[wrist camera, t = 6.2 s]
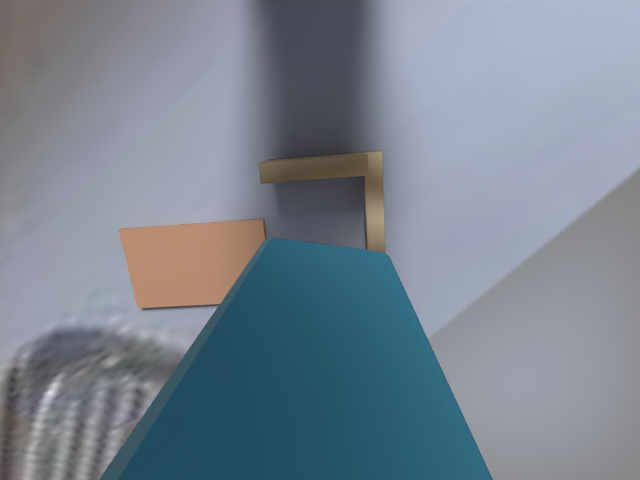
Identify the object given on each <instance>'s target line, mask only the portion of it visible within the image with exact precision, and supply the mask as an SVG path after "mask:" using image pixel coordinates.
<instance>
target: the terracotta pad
mask: <svg viewBox="0 0 640 480" xmlns="http://www.w3.org/2000/svg"><path fill="white" fill-rule="evenodd" d="M119 233H120V237H121V241H122V245H123V249H124V253H125V257H126V261H127V265H128V269H129V273H130V278H131V282H132V286H133V290H134V294H135V298H136V302H137V306H138V308H152V307H171V306H190V305H208V304H220V303H221V302H222V300H223V299H224V298H225V296H226V295H227V293H228V292H229V290H230V289H231V287H232V286H233V284H234V283H235V282H236V280H237V279H238V277H239V276H240V274H241V273H242V271H243V270H244V268H245V267H246V266H247V264H248V263H249V261H250V260H251V258H252V257H253V255H254V254H255V252H256V251H257V250H258V248H259V247H260V245H261V244H262V242H263V241H264V240H265V239H266V232H265V224H264V219H255V220H241V221H226V222H211V223H197V224H182V225H167V226H153V227H138V228H123V229H120V230H119Z"/></svg>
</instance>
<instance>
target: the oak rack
mask: <svg viewBox="0 0 640 480" xmlns="http://www.w3.org/2000/svg"><path fill="white" fill-rule="evenodd" d="M259 171H260V179H261V184H262V183H275V182H289V181H302V180H316V179H329V178H343V177H356V176H363V177H364V200H365V224H366V247H367V250H371V251H378V252H384V253H385V232H384V195H383V158H382V151H372V152H359V153H346V154H333V155H321V156H308V157H295V158H283V159H270V160H267V161H264V162H261V163H259Z"/></svg>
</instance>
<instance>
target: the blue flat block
mask: <svg viewBox="0 0 640 480" xmlns="http://www.w3.org/2000/svg"><path fill="white" fill-rule="evenodd" d="M99 480H493V479H492V477H491V475H490V472H489V470H488V468H487V466H486V464H485V462H484V459H483V457H482V455H481V453H480V451H479V449H478V447H477V444H476V442H475V440H474V438H473V436H472V434H471V431H470V429H469V427H468V425H467V423H466V421H465V419H464V416H463V414H462V412H461V410H460V408H459V406H458V403H457V401H456V399H455V397H454V395H453V393H452V391H451V388H450V386H449V384H448V382H447V380H446V378H445V375H444V373H443V371H442V369H441V367H440V365H439V363H438V361H437V358H436V356H435V354H434V352H433V350H432V347H431V345H430V343H429V341H428V339H427V337H426V335H425V332H424V330H423V328H422V326H421V324H420V322H419V319H418V317H417V315H416V313H415V311H414V309H413V307H412V304H411V302H410V300H409V298H408V296H407V294H406V291H405V289H404V287H403V285H402V283H401V281H400V278H399V276H398V274H397V272H396V270H395V268H394V266H393V263H392V261H391V259H390V257H389V256H388V255H387V254H386V253H384V252H378V251H371V250H363V249H355V248H348V247H340V246H333V245H325V244H317V243H310V242H302V241H295V240H287V239H280V238H272V237H270V238H267V239H265V240H264V241H263V242H262V244H261V245H260V247H259V248H258V250H257V251H256V252H255V254H254V255H253V257H252V258H251V260H250V261H249V263H248V264H247V266H246V267H245V268H244V270H243V271H242V273H241V274H240V276H239V277H238V279H237V280H236V282H235V283H234V284H233V286H232V287H231V289H230V290H229V292H228V293H227V295H226V296H225V298H224V299H223V300H222V302H221V303H220V305H219V306H218V308H217V309H216V311H215V312H214V314H213V315H212V316H211V318H210V319H209V321H208V322H207V324H206V325H205V327H204V328H203V329H202V331H201V332H200V334H199V335H198V337H197V338H196V340H195V341H194V343H193V344H192V345H191V347H190V348H189V350H188V351H187V353H186V354H185V356H184V357H183V359H182V360H181V361H180V363H179V364H178V366H177V367H176V369H175V370H174V372H173V373H172V375H171V376H170V377H169V379H168V380H167V382H166V383H165V385H164V386H163V388H162V389H161V390H160V392H159V393H158V395H157V396H156V398H155V399H154V401H153V402H152V404H151V405H150V406H149V408H148V409H147V411H146V412H145V414H144V415H143V417H142V418H141V420H140V421H139V422H138V424H137V425H136V427H135V428H134V430H133V431H132V433H131V434H130V436H129V437H128V438H127V440H126V441H125V443H124V444H123V446H122V447H121V449H120V450H119V452H118V453H117V454H116V456H115V457H114V459H113V460H112V462H111V463H110V465H109V466H108V467H107V469H106V470H105V472H104V473H103V475H102V476H101V478H100V479H99Z"/></svg>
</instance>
